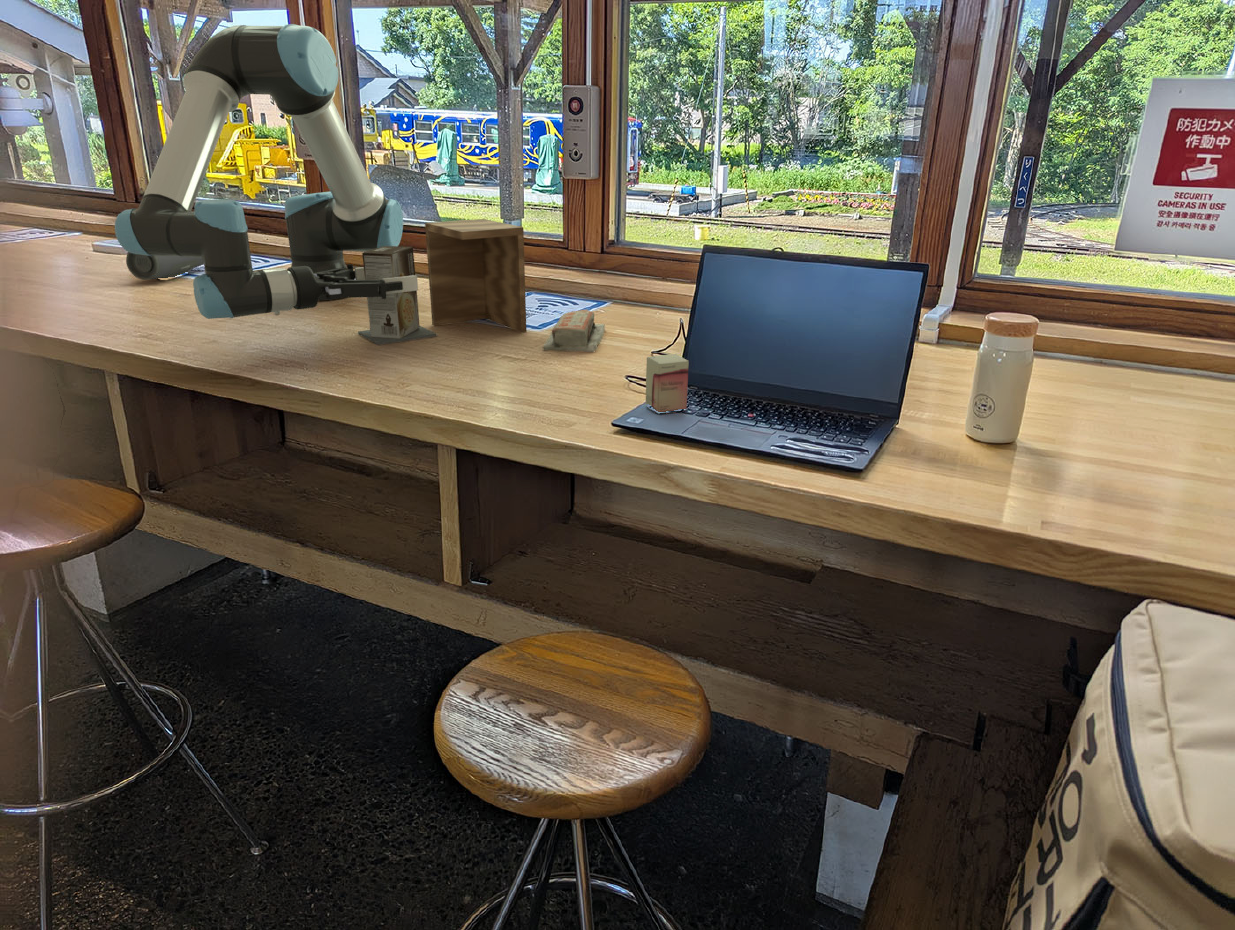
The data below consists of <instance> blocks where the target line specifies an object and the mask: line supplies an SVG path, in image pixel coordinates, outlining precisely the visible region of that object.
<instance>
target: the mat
mask: <svg viewBox="0 0 1235 930" xmlns="http://www.w3.org/2000/svg"><path fill="white" fill-rule="evenodd" d="M357 334H358V335H359V336H360V337H363V338H365V340H368V341H369V342H372V343H374V344H375V345H378V346H381V345H387V344H395V343H401V342H408V341H414V340H420V339H429V338H434V337H435V338H436V337H437V336H438V335H437V333H436V332H434V331H432V330H430V329H428V328H427V327H424V326H421V325H420V328H418V329H417V330H415V331H413V332H411V333H409V334H408V335H406V336H404V337H402V338H401V339H397V338H381V337H371V331H370V329H366V330H365V329H364V330H360V331H358V332H357Z"/></svg>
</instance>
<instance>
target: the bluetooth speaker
mask: <svg viewBox="0 0 1235 930" xmlns="http://www.w3.org/2000/svg"><path fill="white" fill-rule="evenodd" d="M125 261H126V262H125V263H126V266H127V268H128V271H129V272H130V273H131V274H132V275H133V276H134V277H136V278H137V279H140V280H143V281H150V280H157V279H158V278H168V277H175V276H177V275H180V274H183V273H185V272H188V271H191V270H193V269H196V268H198V267H200V266H203V265H204V261H203V258H202V257H184V256H147V255H140V254H133V253H130V252H128V251H127V253H126V258H125Z"/></svg>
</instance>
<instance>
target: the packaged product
mask: <svg viewBox="0 0 1235 930" xmlns="http://www.w3.org/2000/svg"><path fill="white" fill-rule="evenodd" d="M605 326H606V325H605V324H604V323H595V312H594V311H590V310H589V309H586V308H585V309H580V310H573V311H570V312H566V313H563V314H562V315H561V316H560V318H559V319H558V321H557V323H556V324H555V325H554V326H553V328H552V329H551V333H550V335H549V337H548V339H547V340H546V341H545V343H544V345H543V346H542V349H543V351H548V350H554V351H553V352H556V351H557V352H578V351H583V352H587V353H595V352H596V351H597V348H598V346H599V345H598V344H600V343H601V340H602V339H603V336H604V333H605V329H606V328H605ZM597 345H598V346H597ZM594 351H595V352H594Z"/></svg>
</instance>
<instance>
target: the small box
mask: <svg viewBox="0 0 1235 930" xmlns="http://www.w3.org/2000/svg"><path fill="white" fill-rule="evenodd" d="M689 364H690V363H689V360H687V359H685V358H684V357H682V356H680V355H679V354H673V353H672V354H660V355H655V356H647V357H646V367H645V370H646V371H645V372H646V373H645V404H649V405H651V406H652V407H653V408H654V409H655V410H656V411H658V412H666V411H674V410H678V409H686V410H687V407H688V387H689V386H688V382H689V366H690V365H689Z"/></svg>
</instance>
